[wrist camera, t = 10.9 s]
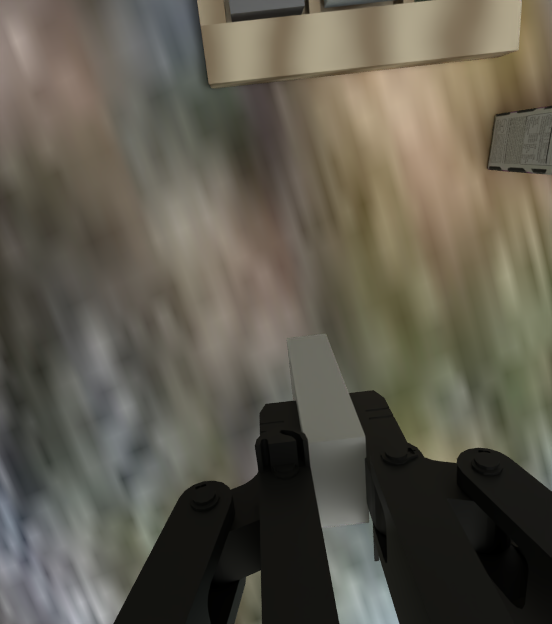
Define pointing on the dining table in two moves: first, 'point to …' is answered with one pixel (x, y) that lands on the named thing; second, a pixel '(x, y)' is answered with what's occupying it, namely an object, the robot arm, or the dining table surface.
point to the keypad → (353, 38)
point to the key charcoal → (264, 9)
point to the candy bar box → (522, 141)
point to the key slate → (348, 2)
